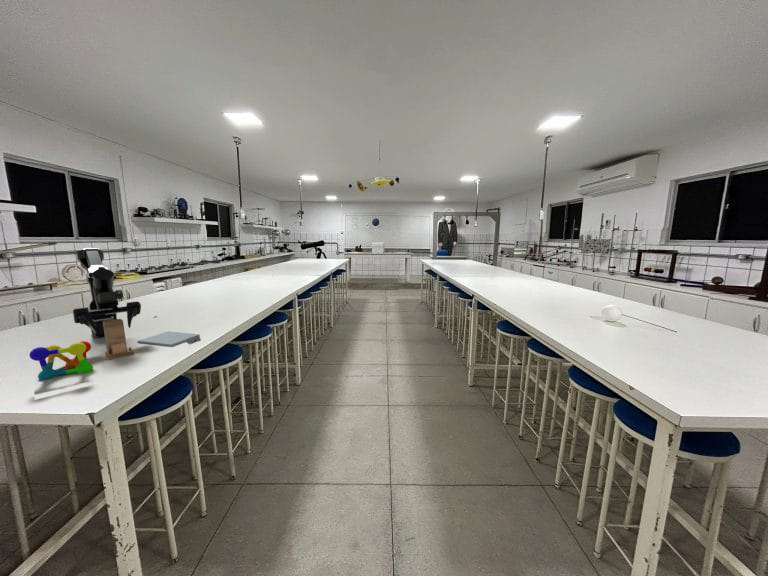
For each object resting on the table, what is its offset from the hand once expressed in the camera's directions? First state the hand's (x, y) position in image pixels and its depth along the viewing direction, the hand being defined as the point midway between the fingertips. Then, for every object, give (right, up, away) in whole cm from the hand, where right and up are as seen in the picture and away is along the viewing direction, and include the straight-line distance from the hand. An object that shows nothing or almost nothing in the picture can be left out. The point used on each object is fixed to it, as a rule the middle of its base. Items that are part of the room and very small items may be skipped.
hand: (113, 329), depth 111 cm
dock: (+11, -7, +13) cm, 19 cm away
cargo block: (+5, -8, -3) cm, 10 cm away
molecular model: (+2, -12, -18) cm, 22 cm away
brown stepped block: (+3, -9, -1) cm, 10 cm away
